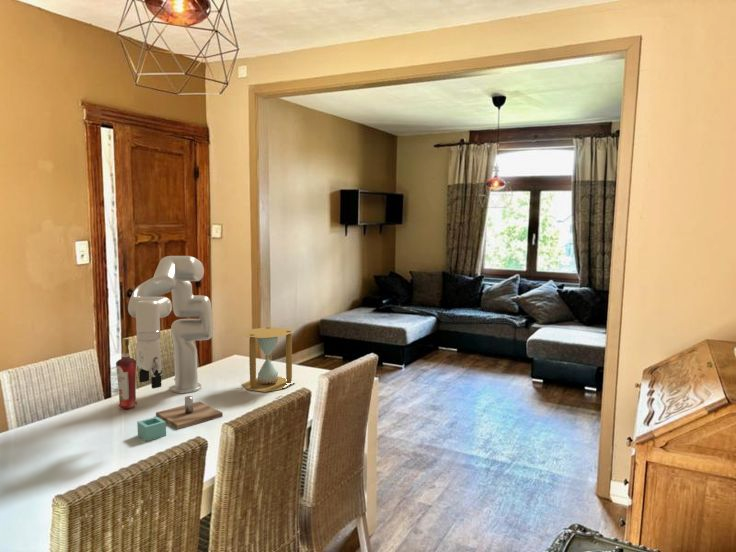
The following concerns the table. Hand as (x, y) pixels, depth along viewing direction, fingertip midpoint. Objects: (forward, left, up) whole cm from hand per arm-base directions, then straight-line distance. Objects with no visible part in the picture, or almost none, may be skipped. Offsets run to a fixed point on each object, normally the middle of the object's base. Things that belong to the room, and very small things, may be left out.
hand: (150, 384), depth 183 cm
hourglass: (-20, +63, -19) cm, 69 cm away
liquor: (-34, +5, -19) cm, 39 cm away
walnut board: (-8, +18, -18) cm, 27 cm away
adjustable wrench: (+6, +47, -19) cm, 51 cm away
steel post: (-8, +18, -17) cm, 26 cm away
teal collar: (0, 0, -18) cm, 18 cm away
